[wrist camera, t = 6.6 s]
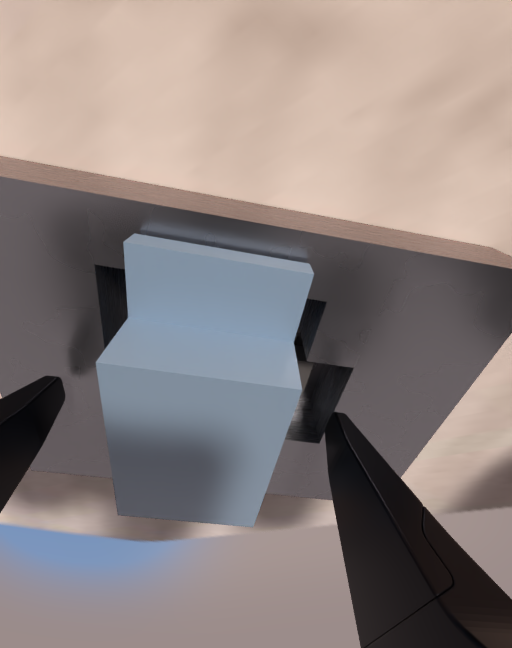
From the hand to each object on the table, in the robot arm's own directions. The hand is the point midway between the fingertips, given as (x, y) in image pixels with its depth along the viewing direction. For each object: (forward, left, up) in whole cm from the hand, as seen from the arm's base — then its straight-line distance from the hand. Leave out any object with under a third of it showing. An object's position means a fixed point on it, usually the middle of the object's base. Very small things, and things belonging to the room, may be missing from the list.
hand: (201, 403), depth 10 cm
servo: (0, 0, -3) cm, 3 cm away
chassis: (-1, 0, -3) cm, 3 cm away
